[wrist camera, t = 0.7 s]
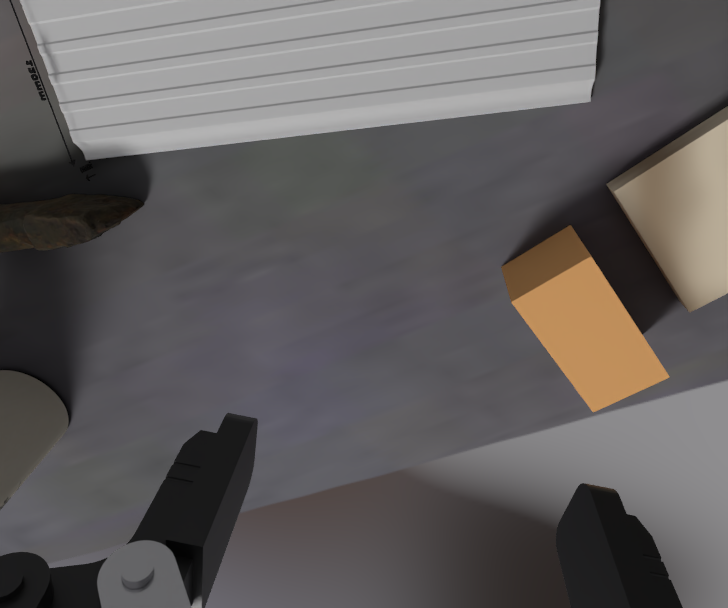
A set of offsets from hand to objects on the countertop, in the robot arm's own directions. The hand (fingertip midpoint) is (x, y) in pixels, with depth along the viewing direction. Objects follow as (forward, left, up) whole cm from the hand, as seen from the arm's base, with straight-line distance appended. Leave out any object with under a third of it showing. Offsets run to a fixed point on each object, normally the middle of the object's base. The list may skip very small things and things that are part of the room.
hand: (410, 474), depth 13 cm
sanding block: (-4, +13, -24) cm, 27 cm away
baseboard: (0, -10, -24) cm, 26 cm away
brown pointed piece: (+23, -16, -24) cm, 37 cm away
